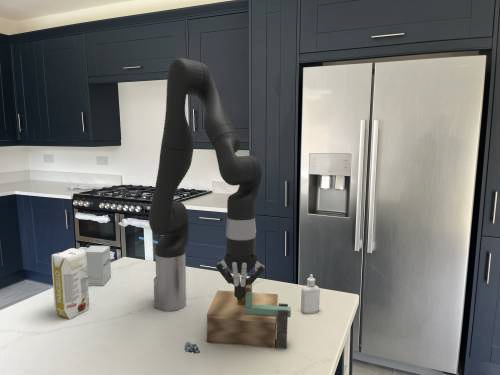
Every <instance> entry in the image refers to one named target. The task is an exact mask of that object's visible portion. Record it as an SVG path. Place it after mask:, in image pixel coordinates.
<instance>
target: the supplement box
mask: <svg viewBox="0 0 500 375" xmlns="http://www.w3.org/2000/svg"><path fill="white" fill-rule="evenodd" d="M84 251H86V257H87V273H88V287H90V286H91V287H92V286H93V287H103V286H105V285H106V284H107V282H108V281H109V280H110V279H111V278H112V270H111V269H112V267H111V266H112V265H111V264H112V262H111V245H89V247H88V248H85V250H84Z"/></svg>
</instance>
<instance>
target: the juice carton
mask: <svg viewBox="0 0 500 375" xmlns="http://www.w3.org/2000/svg"><path fill="white" fill-rule="evenodd" d="M51 276H52V286H53V287H52V288H53V298H54V299H53V300H54V310H55V311H54V312H55V314H56V316H59V317H61V318H62V317H63V318H66V319H69V320H71V319H73V318H75V317H77V316H79V315H80V314H83V313H84V312H87V311H88V310H89V309H90V294H89V291H90V290H89V286H88V273H87V257H86V251H85V250H83V249H79V248H73V247H70V248H68V249H65V250H64V251H62V252H56V253H53V254H51Z"/></svg>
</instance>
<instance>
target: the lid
mask: <svg viewBox="0 0 500 375" xmlns="http://www.w3.org/2000/svg"><path fill="white" fill-rule="evenodd" d="M240 283H241V281H240ZM246 292H252V304H255V305H269V306H278V303H277V300H278V301H279V299H278V298H279V297H278V296H279V295H278V293H263V292H253V283H252V284H251V285H246ZM245 304H246V294H245V297H244V298H243V299H242V300H237V297H235V296H234V290H233V291H232V290H217V291H216V293H215V294H214V297H213V299H212V302H211V304H210V305H209V308H208V310H207V312H206V319H207V318H217V319H230V320H244V321H257V322H271V323H276V316H267V315H253V314H245Z"/></svg>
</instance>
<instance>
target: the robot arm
mask: <svg viewBox="0 0 500 375" xmlns="http://www.w3.org/2000/svg"><path fill="white" fill-rule="evenodd" d="M214 78H215V77H214V76H213V73H212V71H211V70H210V67H209V66H207V64H205V63H203V62H200V61H197V60H192V59H189V58H185V57H184V58H182V57H177V58H174V59H173V60H172V61H171V64H170V65H169V68H168V72H167V80H166V101H165V117H164V123H163V124H164V126H163V133H162V139H161V145H160V151H159V153H160V154H159V160H158V170H157V174H156V175H157V176H156V179H155V180H156V181H155V186H154V191H153V195H152V199H151V203H150V207H149V210H148V211H149V213H148V225H149V228H150V230H151V231H152V232H153V234H155V235H157V236H163V237H162V238H161V239H160V240H159V241H158V242H157V243H156V244H155V248H154V249H155V250H154V252H155V253H154V255H155V277H154V278H153V301H154V302H153V303H154V304H153V305H154V306H153V307H154V308H157V309H159V310H161V311H165V312H171V311H172V312H174V311H177V310H180V309H182V308H184V307H185V306H186V305H187V275H186V273H187V272H186V247H187V245H188V242H189V220H190V219H189V213H188V210H187V207H186V205H185V204H184V203H182V202H181V201H177V200H176V201H175V200H174V199H175V195H176V192H177V189H178V188H179V186H180V185H181V183H182V181H183V180H184V178H185V177H186V175H187V174H188V171H189V170H190V168H191V165H192V161H193V154H194V147H195V141H194V140H195V139H194V137H193V134H192V130H191V128H190V126H189V123H188V120H187V117H186V116H187V115H186V99H187V95H188V96H194V97H195V96H196V97H197V98H198V99H199V100H200V102H201V103H202V104H203V107H204V119H203V120H204V121H203V123H204V124H203V125H204V130H205V134H206V136H207V137H208V140H209V141H210V143H211V145H212V147H213V149H214V151H215V156H216V160H217V165H218V171H219V174H220V177H221V178H222V180H223V181H224V182H225V183H226V184H228V185H230V186H235V187H236V186H238V189H237V190H236V192H234V193H232V194H230V195H229V196H227V205H226V209H227V210H226V212H227V213H226V215H227V217H226V225H225V255H224V257H223V259H222V260H221V261H218V262H217V264H216V265H215V268H216V269H217V271H218V272H219V273H220V275H221V276H222V277H223V278H224V280H225V281H226V283H227V284H229V285H231V284H232V285H233V286H234V287H233V288H234V290H233V291H234V296H235V297H237V300H242V299H243V298H244V297H245V294H246V285H251V284H252V285H253V284H254V283H255V281H256V280H257V279H258V278H259V276H261V274H262V273H263V272H264V271H265V264H264V263H261V262H259V261H258V258H257V255H256V234H257V229H256V228H257V227H256V224H257V223H256V200H257V197H258V193H259V189H260V186H261V182H262V178H263V169H262V164H261V162H260V160H259V159H258V158H257V157H256V156H254V155H240V156H238V155H236V153H237V152H238V151H239V150H240V149H241V147H242V141H241V138H240V136H239V134H238V133H237V131H236V129H235V127H234V126H233V123H232V122H231V121H230V120H231V119H229V116H228V114H227V112H226V109H225V108H224V105H223V101H222V99H221V96H220V93H219V89H218V87H217V85H216V82H215V79H214ZM254 266H255V267H254ZM227 267H228V268H227ZM253 267H254V272H252V273H251V275H250V276H249V277H248V273H250V271H251V270H252V269H253ZM228 269H229V270H228ZM230 271H231V272H232V273H231V272H230ZM240 282H241V283H240Z"/></svg>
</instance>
